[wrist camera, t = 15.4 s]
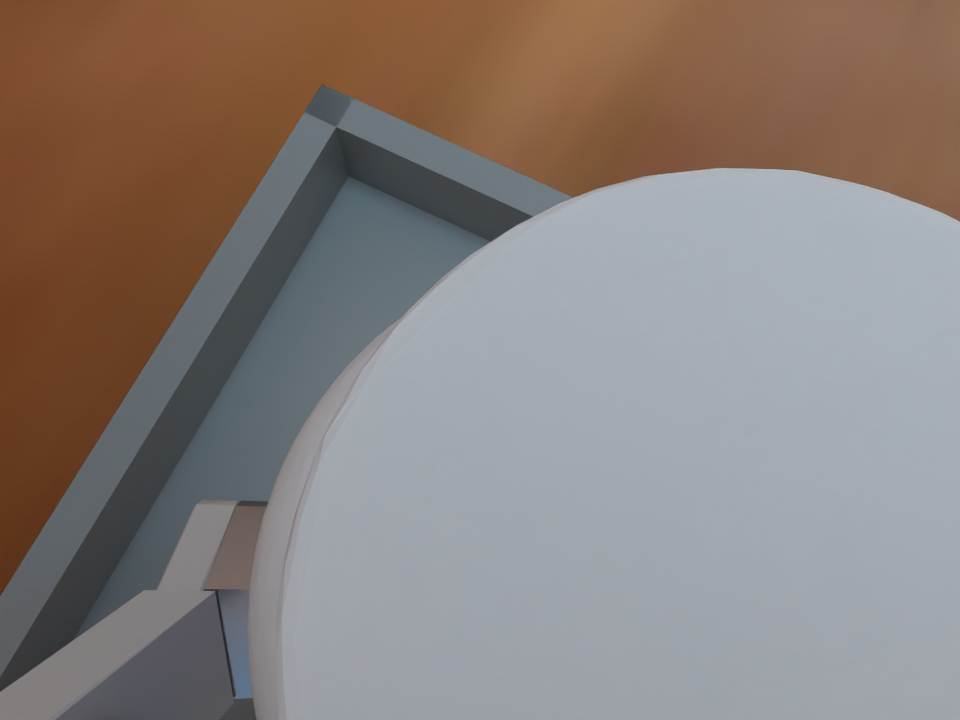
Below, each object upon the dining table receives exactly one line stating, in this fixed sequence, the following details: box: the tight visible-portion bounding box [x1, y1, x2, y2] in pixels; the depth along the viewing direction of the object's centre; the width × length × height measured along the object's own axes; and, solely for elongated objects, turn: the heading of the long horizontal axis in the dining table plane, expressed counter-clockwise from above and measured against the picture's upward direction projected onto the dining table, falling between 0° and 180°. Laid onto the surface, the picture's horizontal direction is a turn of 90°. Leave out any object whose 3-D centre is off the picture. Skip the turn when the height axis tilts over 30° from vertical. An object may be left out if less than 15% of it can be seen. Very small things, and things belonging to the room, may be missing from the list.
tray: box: [0, 85, 573, 720], centre depth 16 cm, size 18×16×3 cm
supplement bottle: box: [247, 168, 960, 720], centre depth 10 cm, size 7×7×13 cm
